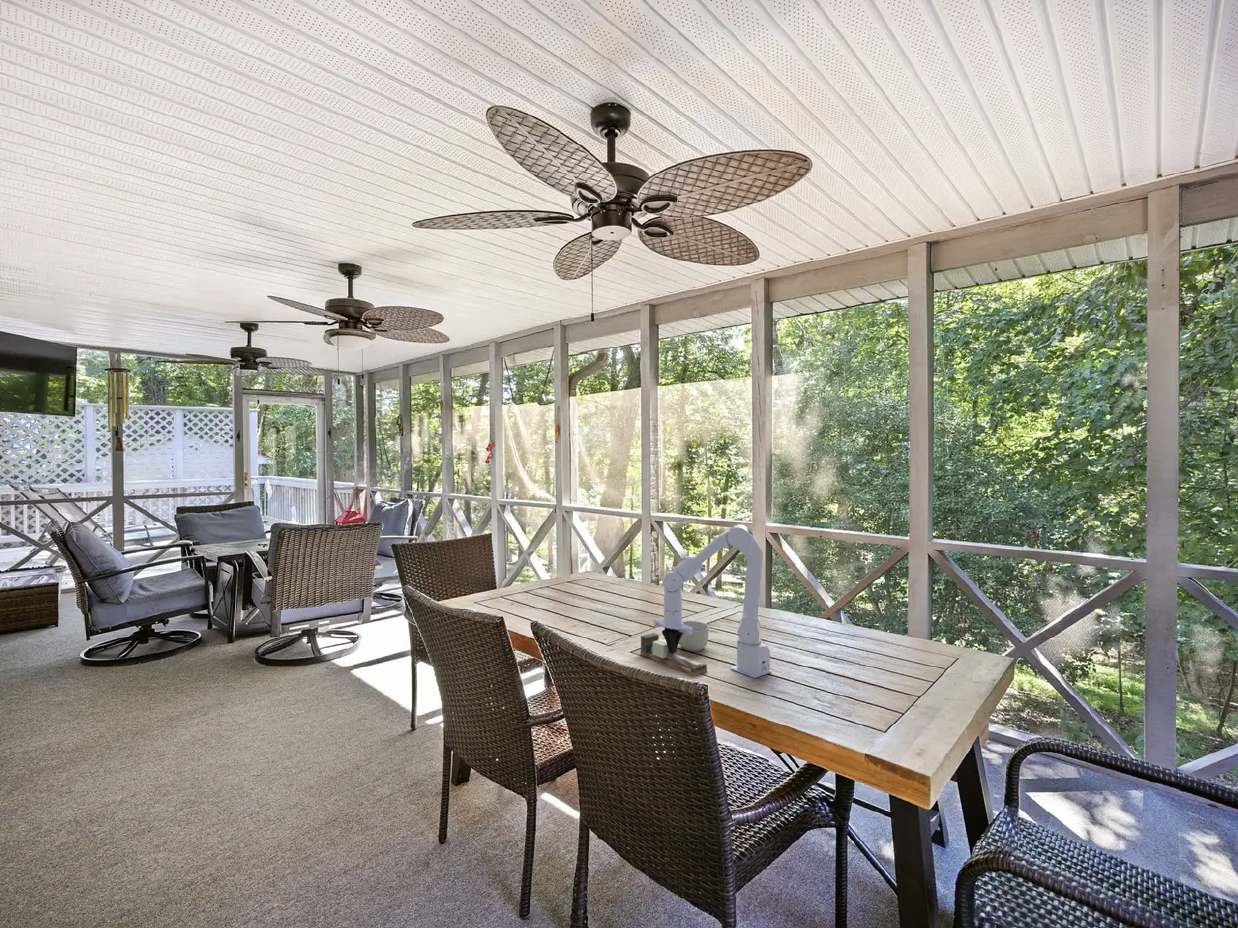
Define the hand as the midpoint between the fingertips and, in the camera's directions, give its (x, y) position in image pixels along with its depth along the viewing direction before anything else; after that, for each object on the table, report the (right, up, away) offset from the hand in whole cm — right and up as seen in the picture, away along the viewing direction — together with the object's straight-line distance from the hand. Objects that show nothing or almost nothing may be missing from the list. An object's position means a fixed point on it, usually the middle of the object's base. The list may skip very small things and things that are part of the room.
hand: (672, 652), depth 182 cm
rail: (0, -3, 0) cm, 3 cm away
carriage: (-2, -2, +3) cm, 4 cm away
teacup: (+7, -3, +14) cm, 16 cm away
